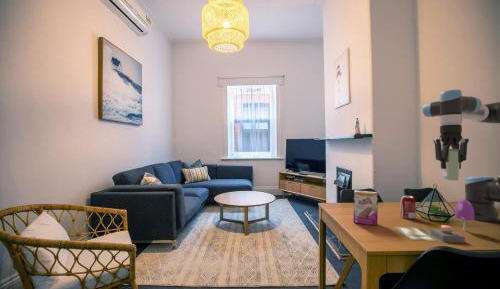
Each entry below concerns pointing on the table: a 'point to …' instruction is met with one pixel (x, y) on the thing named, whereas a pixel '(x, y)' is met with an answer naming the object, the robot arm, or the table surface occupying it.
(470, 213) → the toy
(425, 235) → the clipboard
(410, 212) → the soda can
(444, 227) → the button cap
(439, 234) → the button housing
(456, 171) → the pale green block
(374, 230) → the table surface
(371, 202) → the candy bar box
